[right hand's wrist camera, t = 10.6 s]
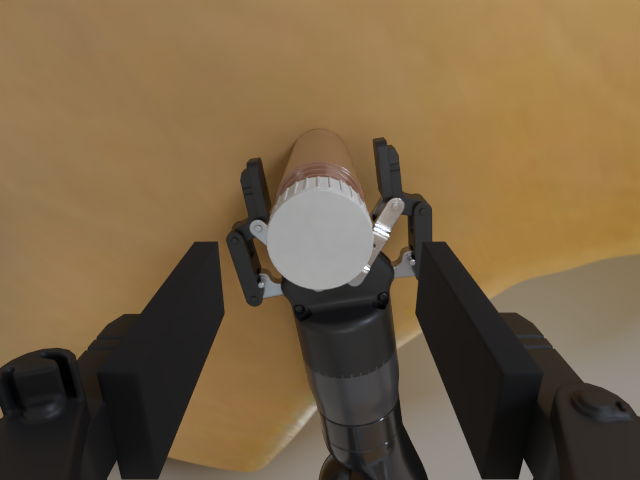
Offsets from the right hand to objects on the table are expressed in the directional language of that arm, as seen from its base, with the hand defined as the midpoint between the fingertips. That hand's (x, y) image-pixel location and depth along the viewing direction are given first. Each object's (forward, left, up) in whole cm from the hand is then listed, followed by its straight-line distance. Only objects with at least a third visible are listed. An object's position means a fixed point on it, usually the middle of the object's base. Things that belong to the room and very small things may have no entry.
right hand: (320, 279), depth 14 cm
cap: (0, 0, -4) cm, 4 cm away
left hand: (-1, +1, -16) cm, 16 cm away
